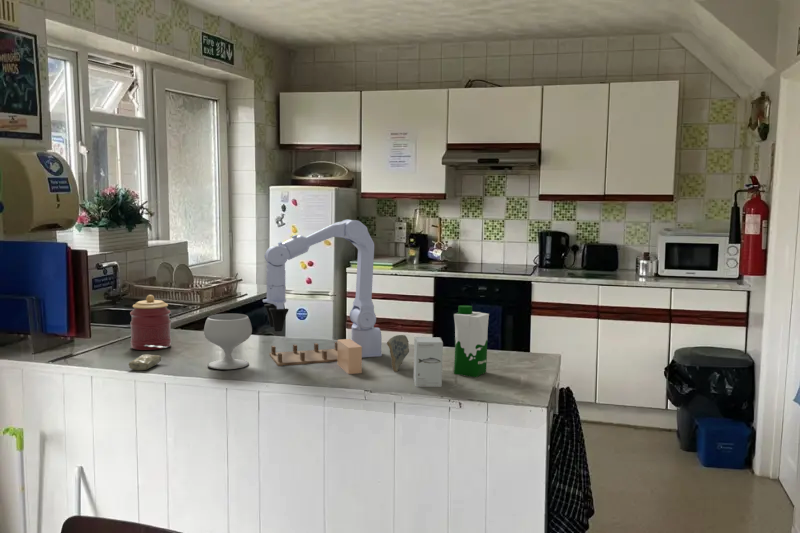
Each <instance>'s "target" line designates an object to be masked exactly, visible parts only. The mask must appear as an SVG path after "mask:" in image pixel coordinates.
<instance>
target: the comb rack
mask: <svg viewBox="0 0 800 533" xmlns="http://www.w3.org/2000/svg"><path fill="white" fill-rule="evenodd" d="M270 347H271V350H270V351H271V352H269V355H268V356H269V357H270V359H271V360H272V361H273V362H274V363H275V364H276V366H278V367H282V366H283V365H285V366H294V365H297V366H298V365H310V364H318V363H319V364H321V363H322V364H323V363H334V362H337V349H338V341H335V342H334V348H327V349H324V348H323V349H319V343H317V342H316V343H315V342H314V343H313V349H312V350H311V349H309V350H308V349H307V350H298V344H295V343H294V344H292V351H278V352H277V351H276V347H277V346H275V345H271V346H270Z"/></svg>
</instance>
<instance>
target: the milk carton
mask: <svg viewBox="0 0 800 533" xmlns="http://www.w3.org/2000/svg"><path fill="white" fill-rule="evenodd" d="M457 308H458V309H457V311H458V312H456V313H453V320H454V332H455V333H454V336H455V337H454V362H453V363H454V364H453V365H454V366H453V375H459V376H464V375H465V376H464V377H471V378H478V377H479V376H482V375H484V374H485V372H486V373H487V363H488V361H487V358H488V331H489V330H488V327H489V316H490V313H486V312H481V311H473V306H472V305H469V304H467V305H466V304H463V305H461V304H460V305H458V307H457ZM483 373H484V374H483ZM481 374H482V375H481Z"/></svg>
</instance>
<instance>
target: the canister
mask: <svg viewBox="0 0 800 533" xmlns="http://www.w3.org/2000/svg"><path fill="white" fill-rule="evenodd" d="M168 306H169V304H168V303H166V302H165V301H164V300H161V299H155V296H154V295H153V294H148V295H147V296H146V298H145V299H144V300H139V301H136V302H135V304H134V303H133V305H132V308H133V309H132V310H131V311H130V312H129V314H130V316H131V321H130V322H129V323H130V346H131V349H133V350H137V351H153V350H154V351H155V350H162V349H164V348H156V347H144V346H145V345H154V346H166V347H167V348H170V347H171V343H172V334H171V333H172V332H171V330H172V328H171V322H172V321H171V320H172V319H171V320H170V315H171V312H172V311H171V310H170V309H169V308H168Z"/></svg>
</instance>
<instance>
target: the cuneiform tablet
mask: <svg viewBox="0 0 800 533" xmlns="http://www.w3.org/2000/svg"><path fill="white" fill-rule="evenodd" d="M144 347H156V348H163V349H167V348H168V347H166V346H154V345H145V346H144ZM161 361H162V356H161V355H157V354H150V353H149V354H148V353H147V354H146V353H145V354H144V353H143V354H142V355H139V356H138V357H137V358H135V359H133V360H131V361H130V362H128V367H129V369H130V370H134V371H147V370H149V369H151V368H153V367H155V366H156V365H157V364H159V363H160V362H161Z"/></svg>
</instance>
